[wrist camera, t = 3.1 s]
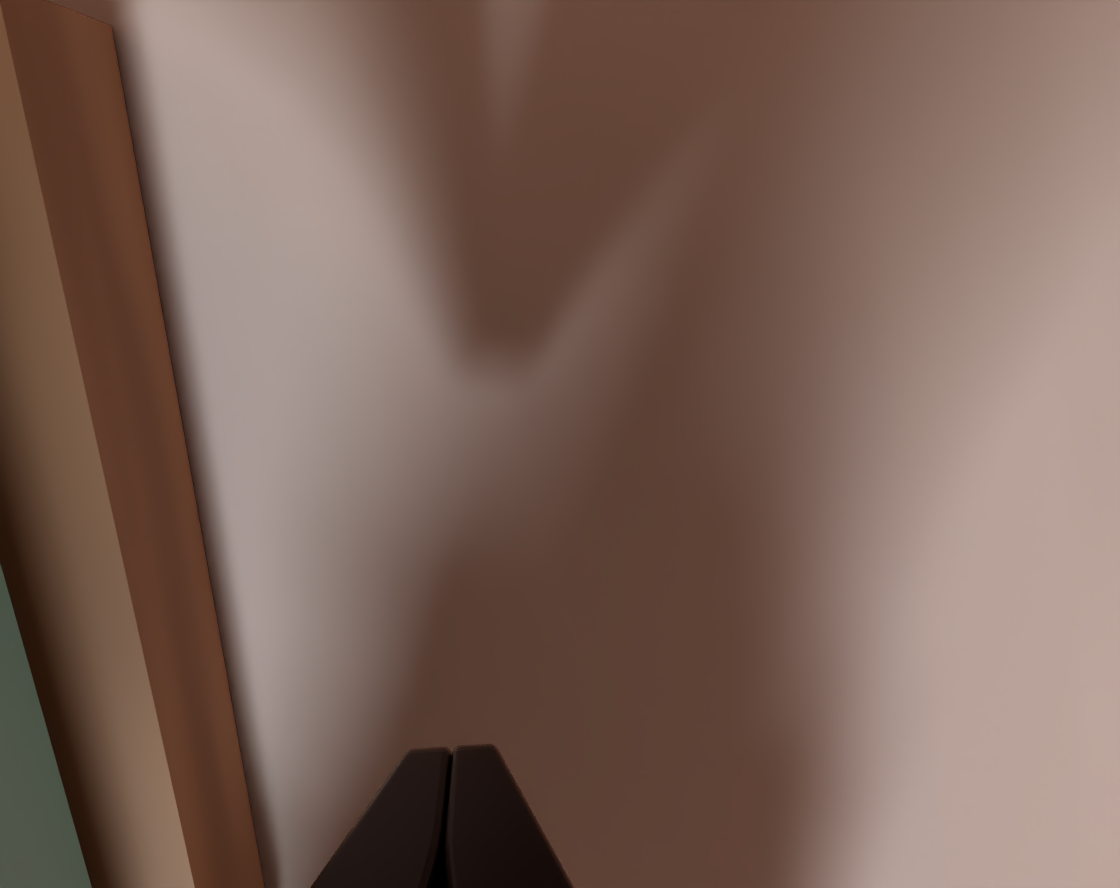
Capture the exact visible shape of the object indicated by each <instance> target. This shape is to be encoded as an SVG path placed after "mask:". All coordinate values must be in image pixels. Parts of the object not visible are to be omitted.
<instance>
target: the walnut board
mask: <svg viewBox="0 0 1120 888" xmlns="http://www.w3.org/2000/svg"><path fill="white" fill-rule="evenodd" d="M0 564H1V568H2V571H3V575H4V578H5V582H6V585H7V589H8V592H9V596H10V600H11V603H12V607H13V610H14V614H15V617H16V621H17V624H18V628H19V631H20V635H21V638H22V642H23V646H24V649H25V653H26V656H27V660H28V663H29V667H30V670H31V674H32V677H33V681H34V685H35V688H36V692H37V695H38V699H39V702H40V706H41V709H42V713H43V716H44V720H45V723H46V727H47V731H48V734H49V738H50V741H51V745H52V748H53V752H54V755H55V759H56V762H57V766H58V770H59V773H60V777H61V780H62V784H63V787H64V791H65V794H66V798H67V801H68V805H69V809H70V812H71V816H72V819H73V823H74V826H75V830H76V833H77V837H78V840H79V844H80V847H81V851H82V855H83V858H84V862H85V865H86V869H87V872H88V876H89V879H90V883H91V886H92V888H264V882H263V877H262V871H261V866H260V860H259V854H258V849H257V843H256V837H255V832H254V826H253V821H252V815H251V809H250V804H249V798H248V792H247V787H246V781H245V776H244V770H243V764H242V759H241V753H240V747H239V742H238V736H237V730H236V725H235V719H234V714H233V708H232V702H231V697H230V691H229V685H228V680H227V674H226V669H225V663H224V657H223V652H222V646H221V640H220V635H219V629H218V624H217V618H216V612H215V607H214V601H213V595H212V590H211V584H210V579H209V573H208V567H207V562H206V556H205V550H204V545H203V539H202V534H201V528H200V522H199V517H198V511H197V505H196V500H195V494H194V488H193V483H192V477H191V472H190V466H189V460H188V455H187V449H186V443H185V438H184V432H183V427H182V421H181V415H180V410H179V404H178V398H177V393H176V387H175V382H174V376H173V370H172V365H171V359H170V353H169V348H168V342H167V337H166V331H165V325H164V320H163V314H162V308H161V303H160V297H159V291H158V286H157V280H156V275H155V269H154V263H153V258H152V252H151V246H150V241H149V235H148V230H147V224H146V218H145V213H144V207H143V201H142V196H141V190H140V185H139V179H138V173H137V168H136V162H135V156H134V151H133V145H132V140H131V134H130V128H129V123H128V117H127V111H126V106H125V100H124V95H123V89H122V83H121V78H120V72H119V66H118V61H117V55H116V49H115V44H114V38H113V33H112V27H111V25H108V24H106V23H103V22H100V21H98V20H95V19H93V18H90V17H87V16H85V15H82V14H80V13H77V12H75V11H72V10H69V9H67V8H64V7H62V6H59V5H56V4H54V3H51V2H49V1H46V0H0Z"/></svg>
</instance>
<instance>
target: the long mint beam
mask: <svg viewBox="0 0 1120 888" xmlns="http://www.w3.org/2000/svg"><path fill="white" fill-rule="evenodd" d="M0 888H92V886H91V883H90V879H89V876H88V872H87V869H86V865H85V862H84V858H83V855H82V851H81V847H80V844H79V840H78V837H77V833H76V830H75V826H74V823H73V819H72V816H71V812H70V809H69V805H68V801H67V798H66V794H65V791H64V787H63V784H62V780H61V777H60V773H59V770H58V766H57V762H56V759H55V755H54V752H53V748H52V745H51V741H50V738H49V734H48V731H47V727H46V723H45V720H44V716H43V713H42V709H41V706H40V702H39V699H38V695H37V692H36V688H35V685H34V681H33V677H32V674H31V670H30V667H29V663H28V660H27V656H26V653H25V649H24V646H23V642H22V638H21V635H20V631H19V628H18V624H17V621H16V617H15V614H14V610H13V607H12V603H11V600H10V596H9V592H8V589H7V585H6V582H5V578H4V575H3V571H2V568H1V564H0Z"/></svg>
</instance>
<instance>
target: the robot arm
mask: <svg viewBox="0 0 1120 888" xmlns="http://www.w3.org/2000/svg"><path fill="white" fill-rule="evenodd" d="M311 888H574V887H573V885H572V883H571V881H570V879H569V878H568V876H567V874H566V872H565V870H564V868H563V867H562V865H561V863H560V861H559V859H558V858H557V856H556V854H555V852H554V850H553V848H552V847H551V845H550V843H549V841H548V839H547V838H546V836H545V834H544V832H543V830H542V828H541V827H540V825H539V823H538V821H537V819H536V818H535V816H534V814H533V812H532V810H531V808H530V807H529V805H528V803H527V801H526V799H525V797H524V796H523V794H522V792H521V790H520V788H519V787H518V785H517V783H516V781H515V779H514V777H513V776H512V774H511V772H510V770H509V768H508V767H507V765H506V763H505V761H504V759H503V757H502V756H501V754H500V752H499V750H498V749H497V748H496V747H495V746H494V745H492V744H478V745H462V746H457V747H456V748H454V750H453V752H452V753H451V751H450V749H449V748H447V747H429V748H414V749H411V750H409V751H408V752H406V753H405V755H404V756H403V757H402V759H401V760H400V762H399V763H398V764H397V766H396V767H395V769H394V770H393V771H392V773H391V774H390V776H389V777H388V779H387V780H386V781H385V783H384V784H383V786H382V787H381V788H380V790H379V791H378V793H377V794H376V796H375V797H374V798H373V800H372V801H371V803H370V804H369V805H368V807H367V808H366V810H365V811H364V813H363V814H362V815H361V817H360V818H359V820H358V821H357V822H356V824H355V825H354V827H353V828H352V830H351V831H350V832H349V834H348V835H347V837H346V838H345V839H344V841H343V842H342V844H341V845H340V846H339V848H338V849H337V851H336V852H335V854H334V855H333V856H332V858H331V859H330V861H329V862H328V863H327V865H326V866H325V868H324V869H323V871H322V872H321V873H320V875H319V876H318V878H317V879H316V880H315V882H314V883H313V885H312V886H311Z"/></svg>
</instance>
